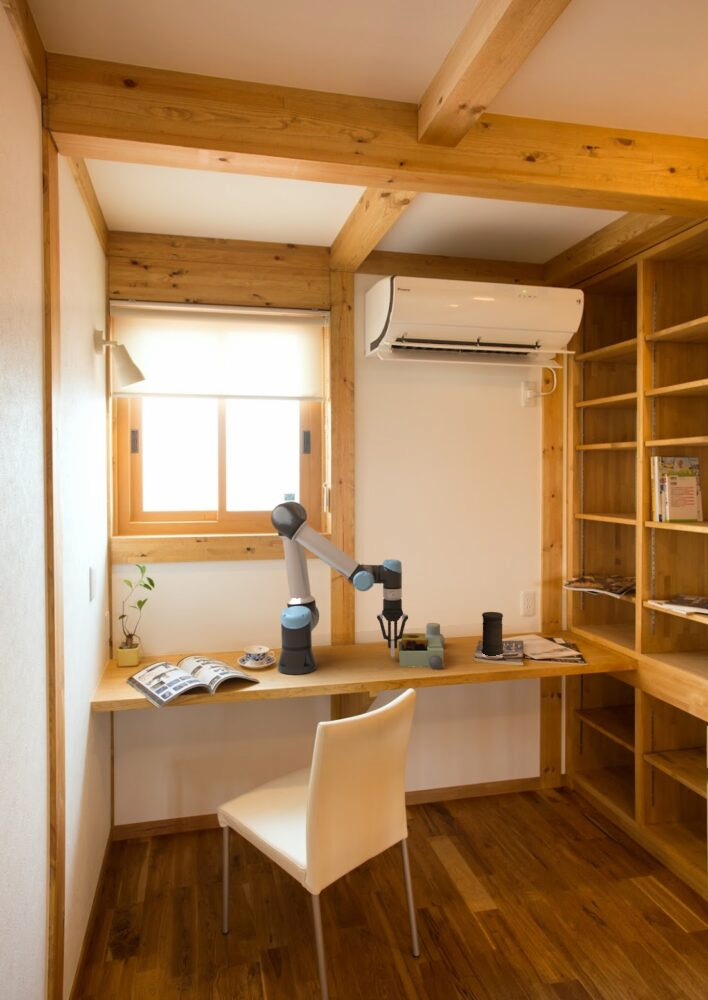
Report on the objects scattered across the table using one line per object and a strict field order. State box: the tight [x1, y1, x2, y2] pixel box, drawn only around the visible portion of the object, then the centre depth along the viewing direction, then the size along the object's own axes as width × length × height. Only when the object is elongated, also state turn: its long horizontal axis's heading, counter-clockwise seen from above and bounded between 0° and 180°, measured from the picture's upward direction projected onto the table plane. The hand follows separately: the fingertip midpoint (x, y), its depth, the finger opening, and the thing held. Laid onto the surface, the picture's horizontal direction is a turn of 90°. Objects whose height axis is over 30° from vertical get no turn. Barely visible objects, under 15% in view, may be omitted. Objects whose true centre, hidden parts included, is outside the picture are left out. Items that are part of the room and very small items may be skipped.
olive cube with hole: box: [401, 632, 426, 651], centre depth 262 cm, size 10×10×10 cm
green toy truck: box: [398, 638, 444, 670], centre depth 261 cm, size 17×22×8 cm
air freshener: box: [424, 622, 446, 647], centre depth 281 cm, size 11×8×10 cm
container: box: [481, 611, 505, 656], centre depth 265 cm, size 9×9×18 cm
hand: (392, 656), depth 262 cm, fingers closed
